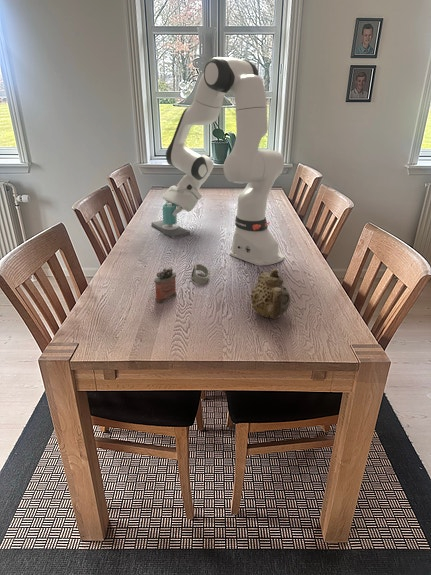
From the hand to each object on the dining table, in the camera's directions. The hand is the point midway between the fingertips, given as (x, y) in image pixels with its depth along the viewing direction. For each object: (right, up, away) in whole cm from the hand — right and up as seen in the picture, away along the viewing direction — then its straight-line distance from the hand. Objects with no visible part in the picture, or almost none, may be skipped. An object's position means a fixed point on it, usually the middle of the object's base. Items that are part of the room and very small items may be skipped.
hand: (168, 213), depth 182 cm
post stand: (0, -7, +4) cm, 8 cm away
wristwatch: (+16, -30, -39) cm, 52 cm away
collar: (0, -4, +2) cm, 5 cm away
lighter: (+5, -36, -52) cm, 64 cm away
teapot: (+37, -41, -60) cm, 81 cm away
